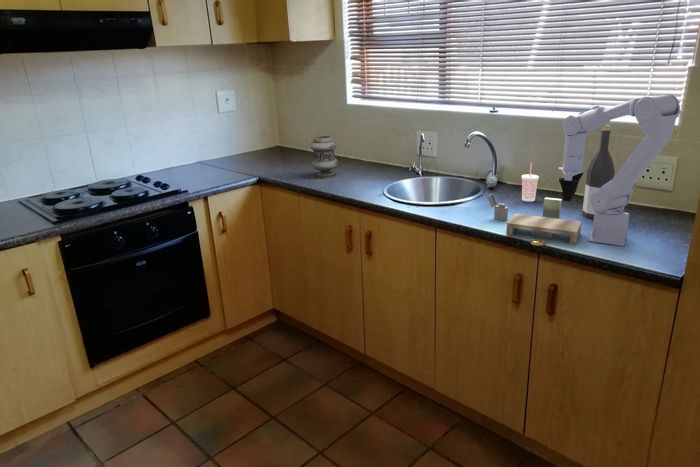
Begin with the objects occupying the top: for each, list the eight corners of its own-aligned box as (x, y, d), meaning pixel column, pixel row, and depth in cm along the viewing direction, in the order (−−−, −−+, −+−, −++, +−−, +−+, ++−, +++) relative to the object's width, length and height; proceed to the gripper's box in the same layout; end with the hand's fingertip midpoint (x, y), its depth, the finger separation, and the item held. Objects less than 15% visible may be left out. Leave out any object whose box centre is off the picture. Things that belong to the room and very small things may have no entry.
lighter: (507, 219, 177) (509, 196, 175) (505, 220, 176) (506, 197, 174) (488, 215, 182) (489, 193, 179) (486, 216, 181) (487, 194, 178)
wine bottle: (576, 213, 180) (587, 125, 169) (595, 210, 182) (606, 122, 172) (594, 220, 173) (606, 128, 162) (613, 217, 175) (626, 126, 165)
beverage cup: (518, 201, 196) (521, 164, 191) (521, 196, 201) (524, 160, 196) (535, 202, 193) (538, 165, 188) (538, 198, 198) (541, 161, 193)
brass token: (545, 243, 157) (546, 239, 157) (543, 247, 154) (543, 244, 154) (531, 241, 159) (532, 238, 159) (529, 245, 156) (529, 242, 156)
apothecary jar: (309, 174, 248) (307, 135, 242) (334, 171, 251) (332, 133, 245) (316, 180, 237) (313, 139, 231) (341, 176, 240) (339, 137, 234)
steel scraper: (560, 222, 173) (562, 199, 170) (551, 238, 160) (553, 213, 157) (542, 220, 175) (544, 197, 172) (532, 235, 163) (534, 210, 160)
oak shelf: (580, 233, 162) (581, 221, 161) (575, 244, 154) (576, 232, 153) (514, 225, 172) (514, 213, 170) (506, 235, 164) (507, 222, 162)
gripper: (563, 149, 169) (559, 190, 174) (555, 158, 158) (551, 202, 162) (587, 150, 166) (582, 192, 171) (581, 160, 154) (576, 205, 159)
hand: (569, 197), depth 166 cm, fingers open, 7 cm apart
